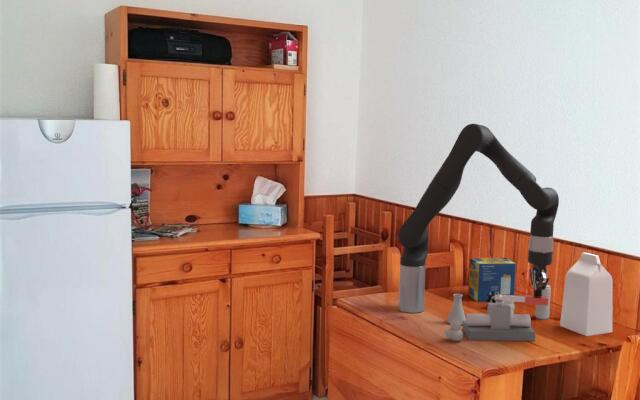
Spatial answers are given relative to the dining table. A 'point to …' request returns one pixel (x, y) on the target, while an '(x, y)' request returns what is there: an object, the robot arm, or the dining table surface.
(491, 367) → the dining table surface
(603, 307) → the milk
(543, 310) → the beverage can
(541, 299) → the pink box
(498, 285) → the protein box
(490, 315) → the pipe manifold
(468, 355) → the dining table surface
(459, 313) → the flask
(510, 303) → the valve
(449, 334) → the rubber duck
